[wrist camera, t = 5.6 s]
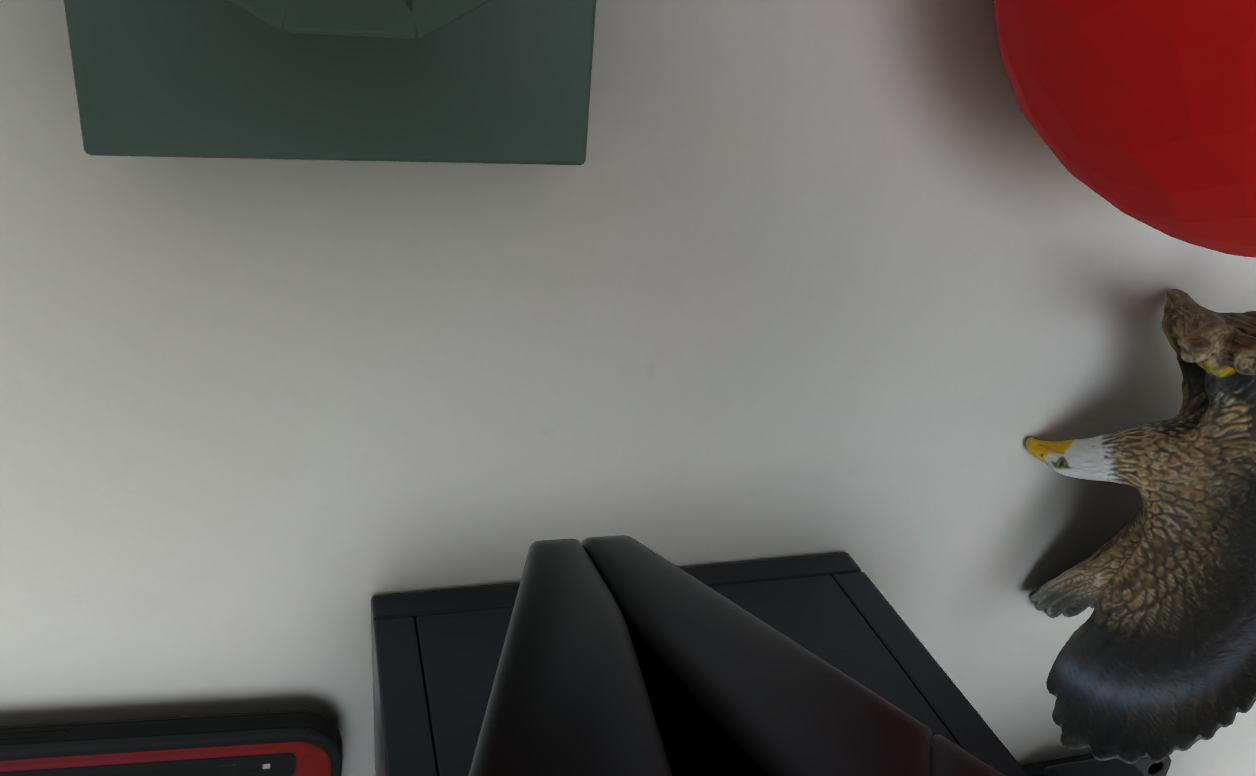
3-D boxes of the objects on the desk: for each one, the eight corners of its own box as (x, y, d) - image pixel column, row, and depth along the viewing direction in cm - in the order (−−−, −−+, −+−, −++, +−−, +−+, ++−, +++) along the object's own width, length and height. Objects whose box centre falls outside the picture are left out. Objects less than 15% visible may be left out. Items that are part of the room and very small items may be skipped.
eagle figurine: (974, 315, 20) (946, 718, 23) (1425, 368, 16) (1332, 866, 18) (1102, 267, 26) (1069, 596, 28) (1464, 296, 21) (1390, 685, 24)
